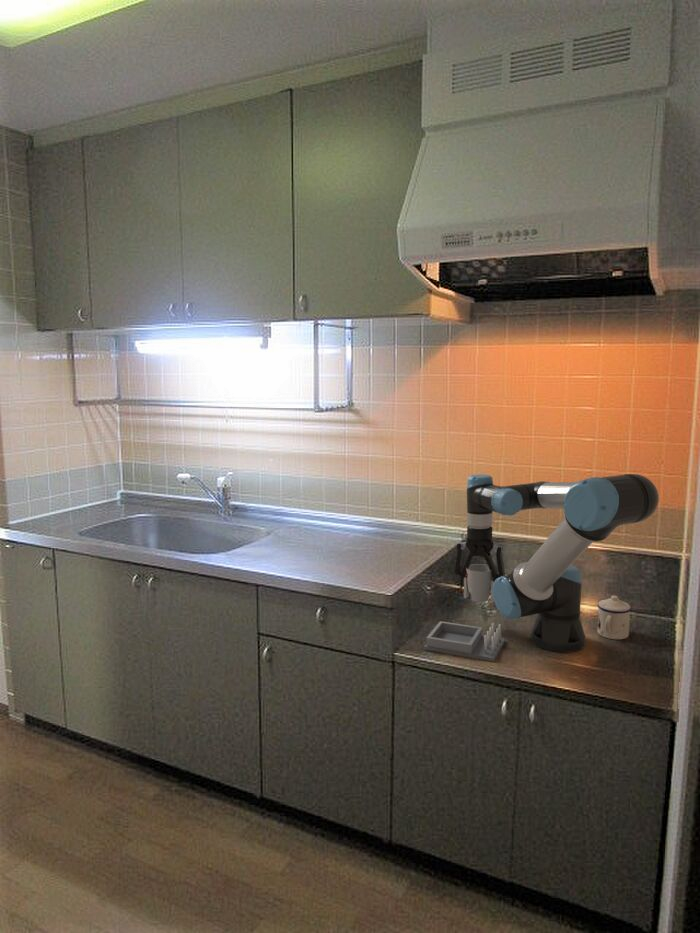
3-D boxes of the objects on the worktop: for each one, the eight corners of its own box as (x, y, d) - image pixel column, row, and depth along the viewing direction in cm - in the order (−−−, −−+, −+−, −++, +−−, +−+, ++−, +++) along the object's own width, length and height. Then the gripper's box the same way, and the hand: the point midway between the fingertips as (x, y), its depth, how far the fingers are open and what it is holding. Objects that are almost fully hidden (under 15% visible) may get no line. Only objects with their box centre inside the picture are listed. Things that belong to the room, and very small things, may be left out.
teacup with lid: (601, 625, 201) (602, 589, 199) (632, 632, 196) (634, 594, 194) (590, 639, 192) (591, 601, 190) (622, 646, 186) (624, 607, 184)
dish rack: (505, 641, 191) (505, 622, 190) (494, 661, 179) (494, 641, 178) (438, 631, 199) (438, 612, 198) (424, 649, 187) (424, 629, 186)
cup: (474, 593, 207) (474, 562, 206) (497, 598, 202) (497, 566, 201) (461, 600, 201) (461, 568, 200) (485, 605, 196) (485, 573, 194)
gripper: (516, 525, 197) (515, 598, 201) (450, 520, 206) (450, 590, 209) (511, 531, 191) (510, 606, 194) (443, 526, 199) (443, 598, 203)
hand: (479, 598), depth 202 cm, fingers closed on cup, 8 cm apart
